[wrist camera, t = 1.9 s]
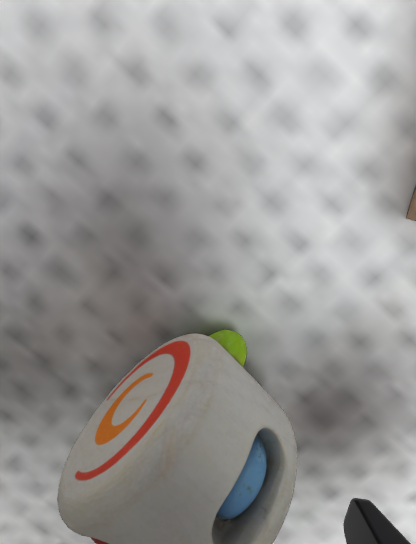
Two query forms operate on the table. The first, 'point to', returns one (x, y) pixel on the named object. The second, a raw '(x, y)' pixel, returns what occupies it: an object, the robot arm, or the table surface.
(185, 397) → the roller toy
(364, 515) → the robot arm
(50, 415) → the table surface
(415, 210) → the open square bin
